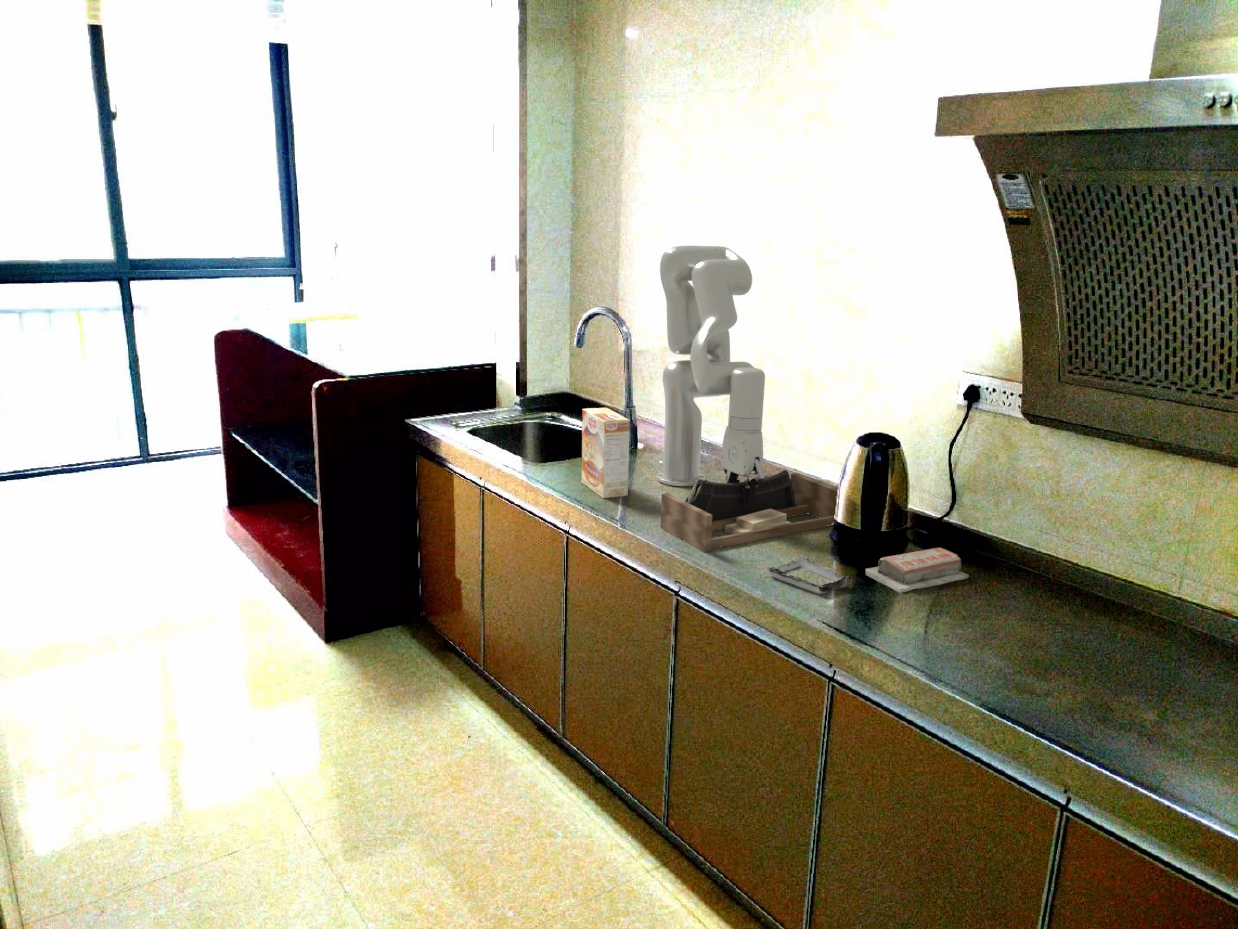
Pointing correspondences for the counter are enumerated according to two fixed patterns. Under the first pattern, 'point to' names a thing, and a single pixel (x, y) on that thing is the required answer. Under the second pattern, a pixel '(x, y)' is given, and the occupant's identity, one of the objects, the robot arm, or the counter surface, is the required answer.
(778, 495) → the magazine
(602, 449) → the coffeecake box
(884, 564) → the packaged product
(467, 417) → the counter surface
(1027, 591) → the counter surface
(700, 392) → the robot arm
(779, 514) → the offcut stack
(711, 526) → the walnut rack
